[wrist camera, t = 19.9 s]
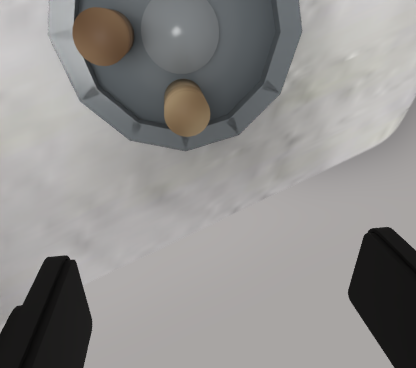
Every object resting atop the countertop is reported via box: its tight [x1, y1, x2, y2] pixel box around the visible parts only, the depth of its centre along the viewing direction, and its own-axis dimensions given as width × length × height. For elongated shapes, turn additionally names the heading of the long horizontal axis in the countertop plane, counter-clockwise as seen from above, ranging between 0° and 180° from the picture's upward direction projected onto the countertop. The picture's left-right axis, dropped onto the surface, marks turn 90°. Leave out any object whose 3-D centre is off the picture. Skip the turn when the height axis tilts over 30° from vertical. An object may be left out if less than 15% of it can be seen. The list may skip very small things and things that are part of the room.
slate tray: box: [48, 0, 302, 151], centre depth 29 cm, size 23×23×3 cm
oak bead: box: [164, 79, 210, 137], centre depth 29 cm, size 4×4×6 cm
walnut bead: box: [72, 7, 134, 66], centre depth 26 cm, size 4×4×6 cm
